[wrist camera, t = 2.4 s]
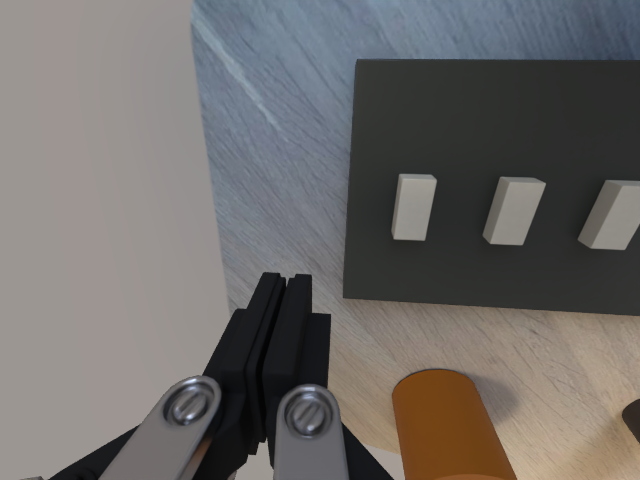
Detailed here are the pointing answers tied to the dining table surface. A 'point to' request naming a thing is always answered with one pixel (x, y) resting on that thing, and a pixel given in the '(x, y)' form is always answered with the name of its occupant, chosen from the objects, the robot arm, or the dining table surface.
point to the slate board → (492, 180)
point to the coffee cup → (633, 418)
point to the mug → (446, 430)
